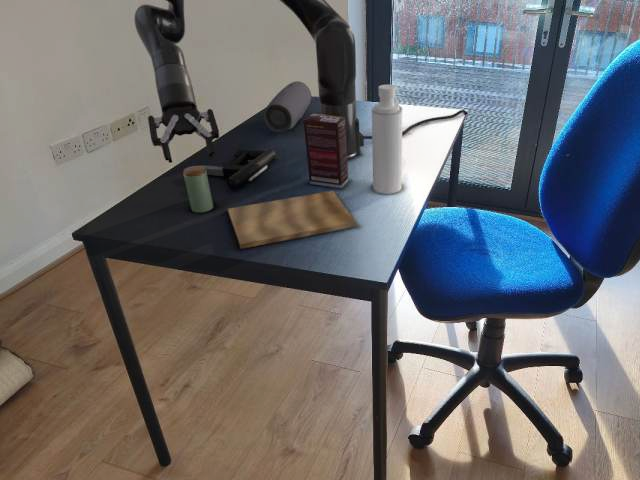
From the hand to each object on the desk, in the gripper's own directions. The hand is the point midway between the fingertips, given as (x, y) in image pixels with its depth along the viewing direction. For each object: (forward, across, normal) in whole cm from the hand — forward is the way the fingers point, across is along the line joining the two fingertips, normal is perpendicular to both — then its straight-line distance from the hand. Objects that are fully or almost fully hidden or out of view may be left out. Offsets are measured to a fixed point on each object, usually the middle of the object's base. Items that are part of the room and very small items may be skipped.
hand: (190, 158), depth 122 cm
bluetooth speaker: (-23, +31, +37) cm, 53 cm away
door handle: (-2, +10, +16) cm, 19 cm away
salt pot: (+10, 0, +4) cm, 11 cm away
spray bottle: (+14, +42, 0) cm, 45 cm away
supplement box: (+9, +30, +5) cm, 32 cm away
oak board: (+19, +17, -6) cm, 26 cm away
